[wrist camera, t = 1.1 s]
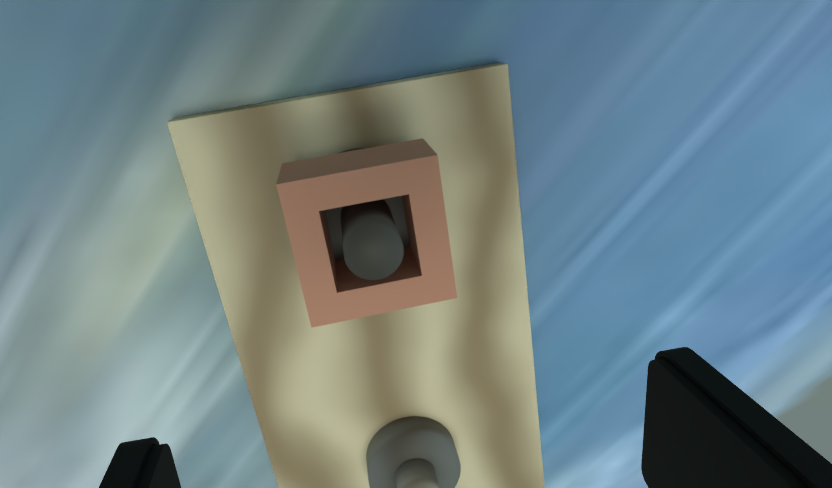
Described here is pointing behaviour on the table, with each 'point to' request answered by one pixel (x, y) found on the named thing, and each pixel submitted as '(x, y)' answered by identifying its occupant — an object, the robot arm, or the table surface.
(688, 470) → the robot arm
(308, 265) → the collar
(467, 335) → the board
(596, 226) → the table surface
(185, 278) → the table surface
